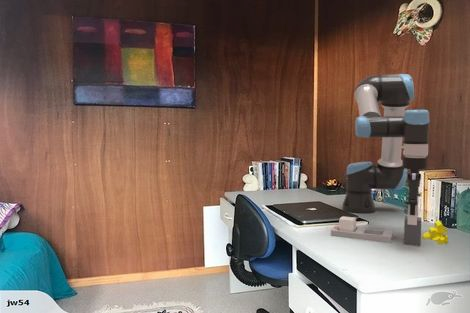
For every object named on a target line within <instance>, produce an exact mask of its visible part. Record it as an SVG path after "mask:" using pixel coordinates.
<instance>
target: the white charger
mask: <svg viewBox="0 0 470 313" xmlns="http://www.w3.org/2000/svg"><path fill="white" fill-rule="evenodd" d="M338 220H339V221H338V226H339V231H347V232H355V231H356V226H357V217H351V216H341V217H340V218H339V219H338Z"/></svg>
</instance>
